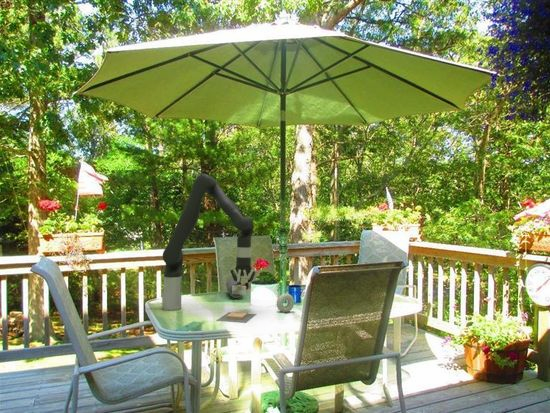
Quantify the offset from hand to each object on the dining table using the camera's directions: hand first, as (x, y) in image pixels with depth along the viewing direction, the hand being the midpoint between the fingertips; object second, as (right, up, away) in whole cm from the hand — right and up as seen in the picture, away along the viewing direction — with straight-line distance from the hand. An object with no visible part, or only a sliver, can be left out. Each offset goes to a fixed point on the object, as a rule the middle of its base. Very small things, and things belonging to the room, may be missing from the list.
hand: (242, 289), depth 239 cm
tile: (-1, -11, -4) cm, 12 cm away
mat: (-2, -13, -9) cm, 16 cm away
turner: (0, -1, +1) cm, 2 cm away
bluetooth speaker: (-8, -12, +46) cm, 48 cm away
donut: (+22, -13, +4) cm, 26 cm away
